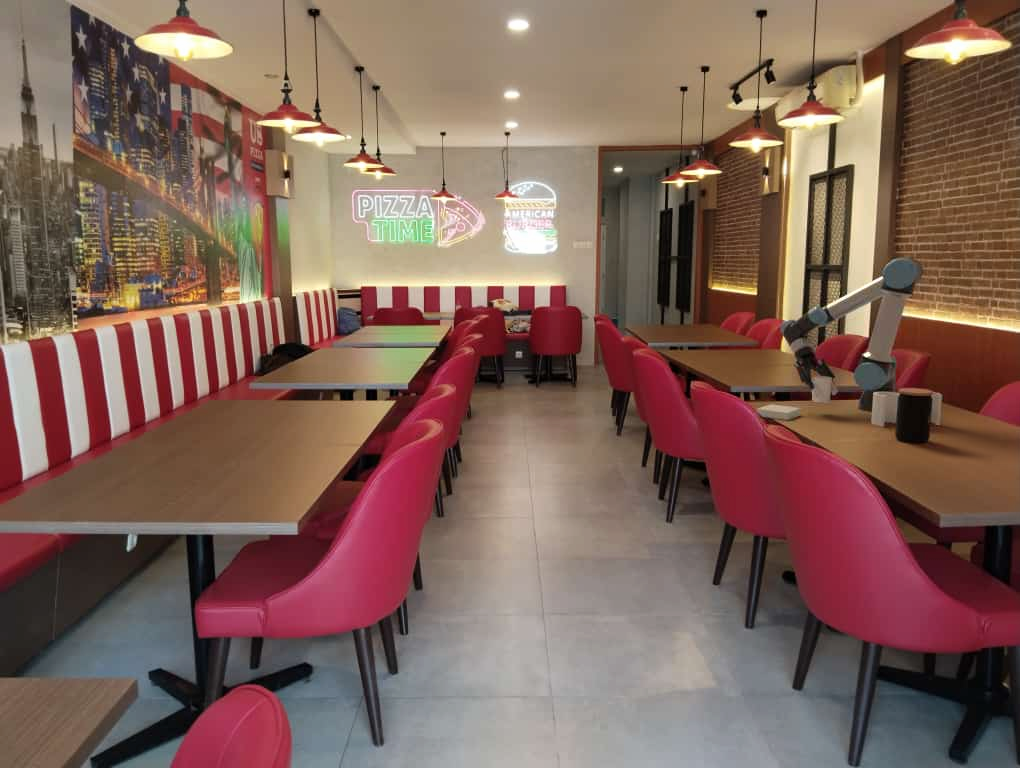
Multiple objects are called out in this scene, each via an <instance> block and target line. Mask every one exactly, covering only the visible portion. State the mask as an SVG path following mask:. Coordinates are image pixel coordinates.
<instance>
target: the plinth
mask: <svg viewBox="0 0 1020 768" xmlns="http://www.w3.org/2000/svg"><path fill="white" fill-rule="evenodd" d="M757 412H758V413H759V414H760V415H761V417H763V418H766V419H767V418H768V419H777V420H781V419H782V421H789V420H791V419H794V418H797V417H799V416H801V412H802V408H801V407H795V406H787V405H779V404H778V405H777V404H768V405H764V406H761V407H758V408H756V413H757Z"/></svg>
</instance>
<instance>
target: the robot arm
mask: <svg viewBox="0 0 1020 768" xmlns="http://www.w3.org/2000/svg"><path fill="white" fill-rule="evenodd" d="M923 275H924V268H923V266H922V264H921V263H920V262H919V261H918V260H917V259H914V258H911V257H898V258H895V259H893V260H892V259H891V261H889V262H888V263H887V264H886V265H885V266H884V269H883V270H882V275H881V276H879V277H878V278H875V279H874V280H872V281H870V282H868V283H866V284H864V285H863V286H861V287H859V288H857V289H855V290H853V291H851V292H849V293H847V294H846V295H844V296H841V297H840V298H838V299H836V300H834V301H833V302H831V303H829V304H827V305H824V306H823V307H821V306H819V305H818V306H817V305H816V306H814V307H812V308H811V309H810V308H809V310H808V311H807V312H805V314H803V315H802V316H800V317H799V318H798V319H797V320H796V319H788V320H786V321H784V322H783V323H782V324H781V325H780V332H781V333H782V337H784V339H785V341H786V343H787V344H788V346H789V348H790V350H791V352H792V353H793V355H794V357H795V359H796V362H795V363H794V364H793V366H794V367H795V368H796V371H797V373H798V375H799V378H800V381H801V383H802V384H805V385H808V387H809V389H810V390H811V392H812V391H813V392H814V394H815V396H816V397H817V396H818V395H819V394H820V393H821V392H820V391H819V389H818V387H817V385H816V383H815V382H814V380H812V373H811V370H812V371H814V372H816V373H818V375H819V376H826V377H832V385H831V394H832V396H835V395H836V394H837V393H838V389H837V387H836V383H835V382H834V379H835V378H836V376H835V374H834V372H832V370H831V369H830V367H829V366H828V365H827V363H826V362H825V359H823V358H821V360H819V359H818V358H817V357H816V353H815V352H814V350H813V348H812V346H811V345H810V343H809V341H808V339H807V337H806V336H807V335H809V333H811V332H812V331H813V332H814V330H815V329H818V328H821V327H826V326H829V325H830V324H831V323H833V322H835V321H836V320H839V319H841V318H843V317H844V316H846V315H848V314H850V313H852V312H854V311H856V310H858V309H861V308H862V307H864V306H866V305H869V304H870V303H872V302H874V301H877V300H878V299H880V298H881V297H882V299H881V303H880V305H879V309H878V312H877V316H876V318H875V319H876V320H875V323H874V326H873V330H872V334H871V337H870V341H869V344H868V348H867V351H865V352H864V353H862V354H861V357H860V361H859V363H858V365H857V366H856V368H855V370H854V372H853V378H854V381H855V383H856V384H857V385H858V387H859V388H861V389H863V392H862V394H861V396H860V398H859V401H858V405H857V407H858V409H859V410H862V411H867V412H872V406H873V393H874V392H894V393H895V385H896V373H897V365H898V363H897V358H896V357H895V356H891V353H892V351H893V347H894V343H895V340H896V336H897V333H898V330H899V326H900V323H901V319H902V316H903V313H904V309H905V307H906V306H905V305H906V303H907V300H908V298H910V297H911V296H913V294H914V290H915V288H916V284H918V283H919V281H921V279H922V277H923Z"/></svg>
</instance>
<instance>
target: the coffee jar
mask: <svg viewBox="0 0 1020 768" xmlns="http://www.w3.org/2000/svg"><path fill="white" fill-rule="evenodd" d="M933 392H934V391H932V390H930V389H926V388H916V387H905V388H904V387H903V388H899V389H898V393H900V395H899V396H898V404H897V418H896V424H895V432H894V433H895V434H894V436H895V438H896V440H897V439H898V440H897V441H899V440H900V441H899V442H902V441H903V442H902V443H907V442H910V443H909V444H926V443H927V442H928V441H929V439H930V435H931V434H930V433H931V424H932V423H931V411H932V397H931V395H932V394H933ZM925 442H926V443H925Z"/></svg>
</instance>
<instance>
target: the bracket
mask: <svg viewBox="0 0 1020 768" xmlns="http://www.w3.org/2000/svg"><path fill="white" fill-rule="evenodd" d="M899 395H900V393H899V392H895V391H894V392H874V393H873V406H872V411H871V421H870V423H872V425H873V424H874V426H877V425H878V426H877V427H880V426H881V428H884V427H885V423H889V422H891V423H890V424H895V423H896V418H897V404H898V396H899ZM931 397H932V411H931V422H932V423H931V424H934V423H935V424H934V425H935V426H936V425H939V426H940V422H941V410H942V400H943V395H942V394H941V393H940V392H934V391H933V394H932V395H931Z"/></svg>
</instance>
